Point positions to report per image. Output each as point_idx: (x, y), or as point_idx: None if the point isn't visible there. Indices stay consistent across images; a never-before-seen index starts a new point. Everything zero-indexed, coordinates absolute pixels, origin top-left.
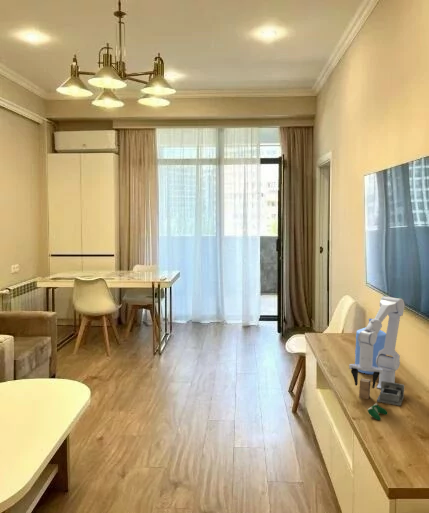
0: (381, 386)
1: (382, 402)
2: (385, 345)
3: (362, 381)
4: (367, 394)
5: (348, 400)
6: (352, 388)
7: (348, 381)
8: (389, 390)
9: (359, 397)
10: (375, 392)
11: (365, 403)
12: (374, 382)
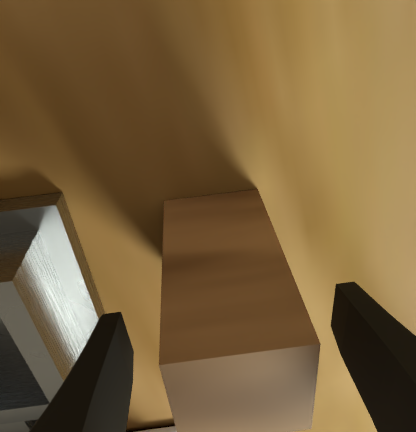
0: None
1: (2, 201)
2: None
3: (272, 345)
4: (173, 229)
5: (356, 29)
6: None
7: None
8: (5, 397)
9: (254, 192)
10: None
11: (142, 59)
12: (66, 394)
